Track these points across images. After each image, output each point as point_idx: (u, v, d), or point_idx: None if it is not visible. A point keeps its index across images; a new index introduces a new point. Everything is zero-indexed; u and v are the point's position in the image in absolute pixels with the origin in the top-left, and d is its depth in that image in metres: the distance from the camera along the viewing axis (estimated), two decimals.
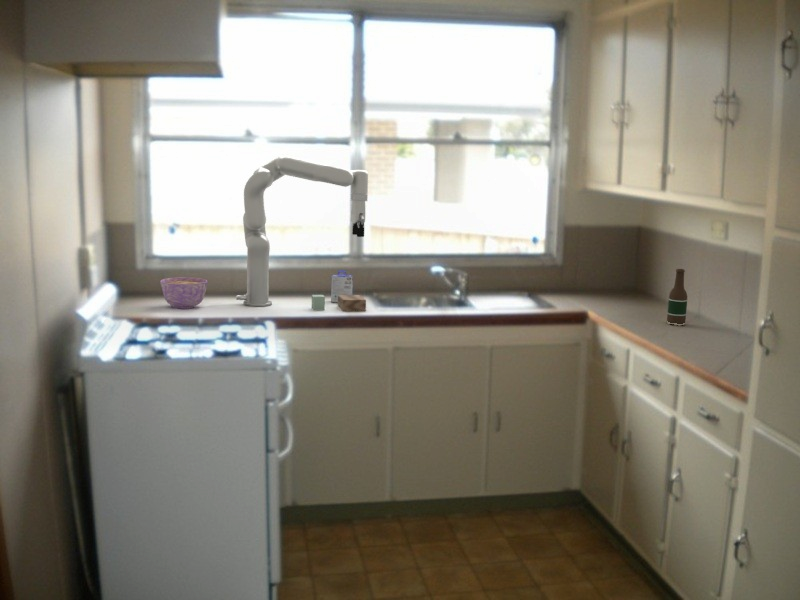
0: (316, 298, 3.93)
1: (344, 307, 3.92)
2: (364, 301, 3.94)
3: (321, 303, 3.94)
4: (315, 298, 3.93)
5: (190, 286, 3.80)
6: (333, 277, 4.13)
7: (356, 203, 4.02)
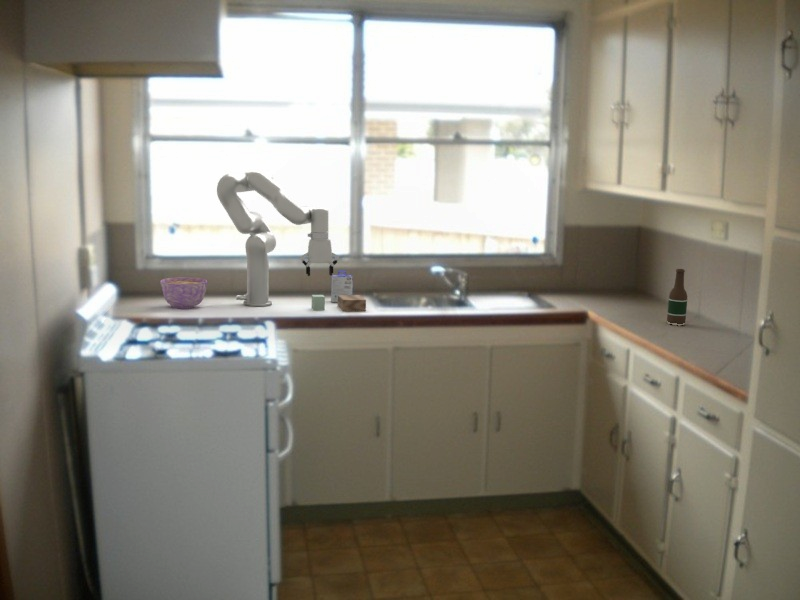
0: (316, 298, 3.93)
1: (344, 307, 3.92)
2: (364, 301, 3.94)
3: (321, 303, 3.94)
4: (315, 298, 3.93)
5: (190, 286, 3.80)
6: (333, 277, 4.13)
7: (330, 242, 3.90)
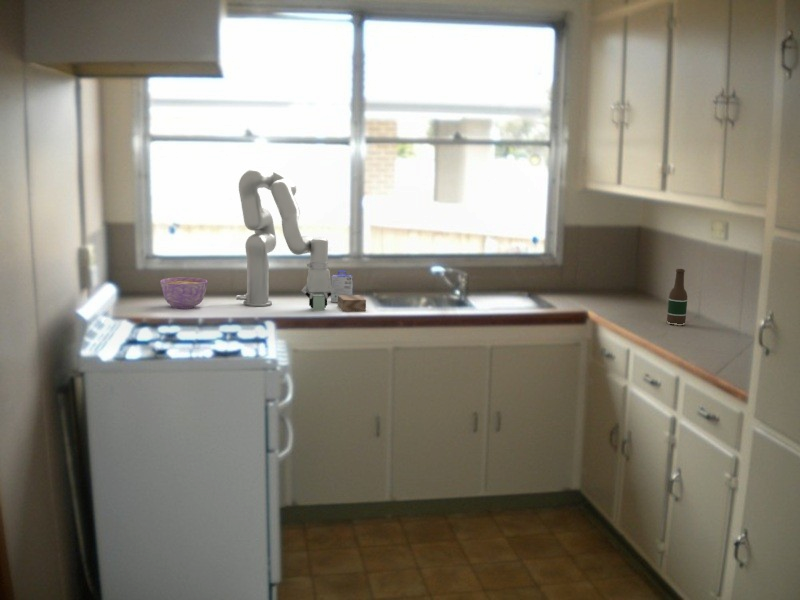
0: (316, 298, 3.93)
1: (344, 307, 3.92)
2: (364, 301, 3.94)
3: (321, 303, 3.94)
4: (315, 298, 3.93)
5: (190, 286, 3.80)
6: (333, 277, 4.13)
7: (329, 272, 3.93)
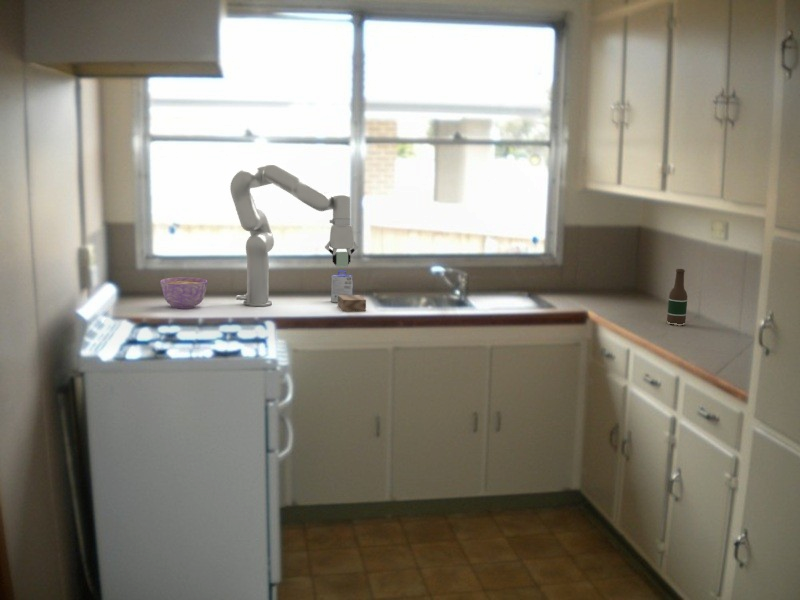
0: (339, 254, 3.92)
1: (344, 307, 3.92)
2: (364, 301, 3.94)
3: (344, 260, 3.93)
4: (338, 254, 3.92)
5: (190, 286, 3.80)
6: (333, 277, 4.13)
7: (351, 228, 3.92)
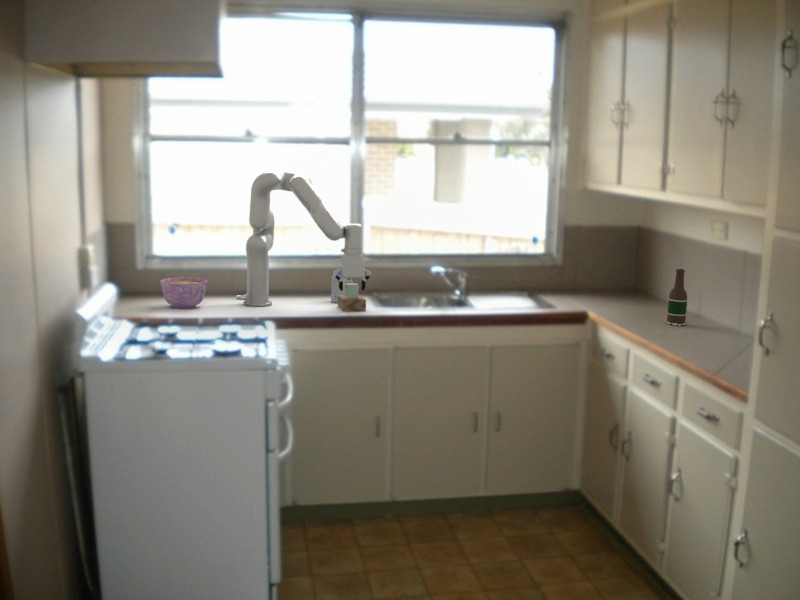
0: (350, 286, 3.96)
1: (344, 307, 3.92)
2: (364, 301, 3.94)
3: (355, 292, 3.97)
4: (349, 286, 3.96)
5: (190, 286, 3.80)
6: (333, 277, 4.13)
7: (363, 257, 3.95)
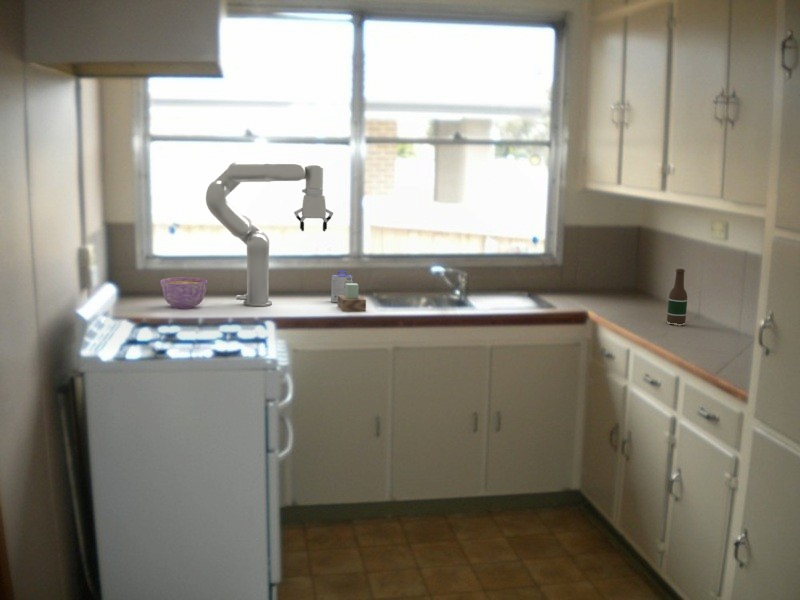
0: (350, 286, 3.96)
1: (344, 307, 3.92)
2: (364, 301, 3.94)
3: (355, 292, 3.97)
4: (349, 286, 3.96)
5: (190, 286, 3.80)
6: (333, 277, 4.13)
7: (324, 198, 3.97)
